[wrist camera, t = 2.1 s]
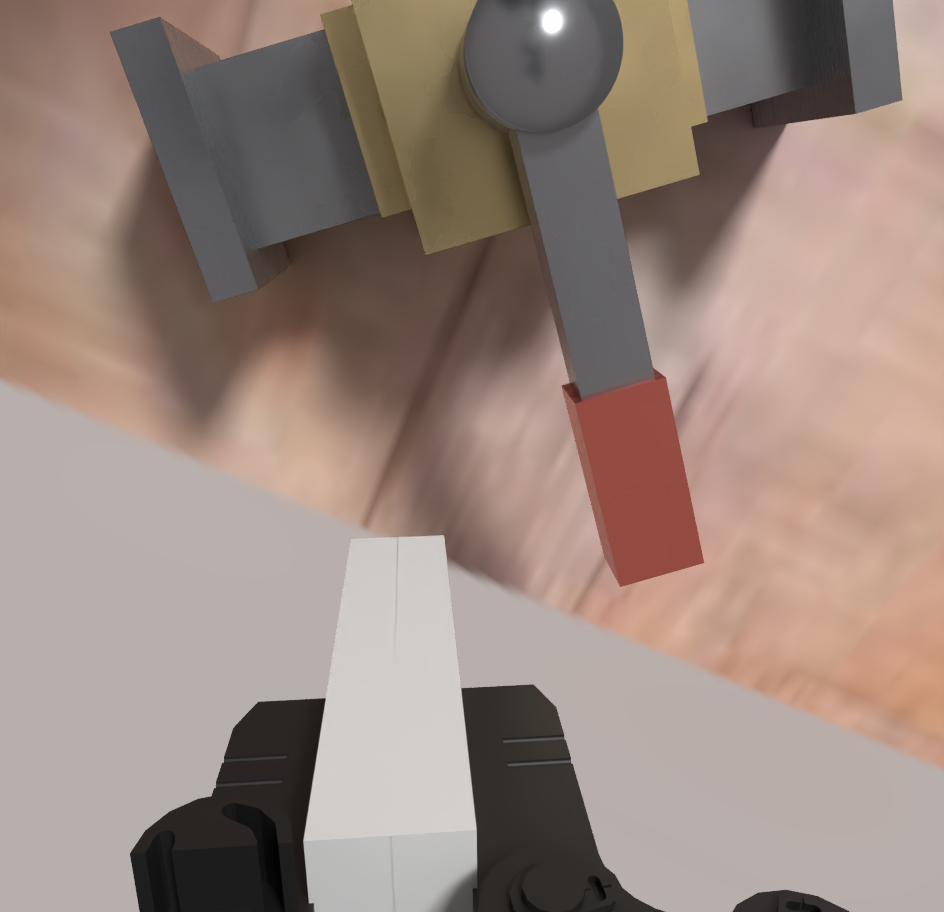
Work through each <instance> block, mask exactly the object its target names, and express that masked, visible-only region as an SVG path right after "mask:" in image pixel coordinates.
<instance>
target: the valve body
mask: <svg viewBox="0 0 944 912" xmlns="http://www.w3.org/2000/svg"><path fill="white" fill-rule="evenodd" d="M351 1H352V6H348V7H345V8H342V9H338V10H335V11H332V12H328V13H325V14H322V15H321V19H322V22H323V25H324V28H325V29H324V30H321V31H317V32H314V33H311V34H307V35H304V36H301V37H297V38H294V39H291V40H287V41H284V42H281V43H277V44H274V45H271V46H267V47H264V48H261V49H257V50H254V51H251V52H247V53H244V54H241V55H237V56H234V57H231V58H227V59H224V60H220V57H219V55H217V54H215V53H214V52H212V51H211V50H209V49H208V48H206V47H205V46H203V45H202V44H200V43H199V42H197V41H196V40H194V39H193V38H191V37H190V36H188V35H187V34H185V33H183V32H182V31H180V30H179V29H177V28H176V27H174V26H173V25H171V24H170V23H168V22H167V21H165V20H164V19H162V18H161V17H158V18H155V19H152V20H148V21H145V22H142V23H138V24H135V25H132V26H128V27H125V28H122V29H118V30H115V31H112V32H110V34H111V37H112V39H113V42H114V45H115V47H116V50H117V52H118V55H119V58H120V60H121V63H122V66H123V68H124V71H125V73H126V76H127V79H128V81H129V84H130V87H131V89H132V92H133V94H134V97H135V100H136V102H137V105H138V108H139V110H140V113H141V115H142V118H143V121H144V123H145V126H146V129H147V131H148V134H149V136H150V139H151V142H152V144H153V147H154V149H155V152H156V155H157V157H158V160H159V163H160V165H161V168H162V170H163V173H164V176H165V178H166V181H167V184H168V186H169V189H170V191H171V194H172V197H173V199H174V202H175V205H176V207H177V210H178V212H179V215H180V218H181V220H182V223H183V226H184V228H185V231H186V233H187V236H188V239H189V241H190V244H191V247H192V249H193V252H194V254H195V257H196V260H197V262H198V265H199V268H200V270H201V273H202V275H203V278H204V281H205V283H206V286H207V289H208V291H209V294H210V296H211V299H212V302H213V303H215V302H218V301H222V300H225V299H228V298H232V297H235V296H239V295H242V294H245V293H249V292H252V291H255V290H259V289H260V288H261V287H263V286H264V285H265V284H267V283H268V282H269V281H271V280H272V279H273V278H275V277H276V276H277V275H279V274H280V273H281V272H283V271H284V270H285V269H287V268H288V267H289V266H290V265H291V263H290V260H289V257H288V254H287V251H286V248H285V245H284V242H283V241H286V240H289V239H293V238H296V237H300V236H303V235H306V234H310V233H313V232H317V231H320V230H323V229H327V228H330V227H333V226H337V225H340V224H344V223H347V222H350V221H354V220H357V219H361V218H364V217H367V216H371V215H374V214H377V213H381V216H382V218H384V217H387V216H390V215H394V214H397V213H401V212H404V211H407V210H411V209H412V211H413V214H414V218H415V221H416V225H417V228H418V231H419V235H420V238H421V242H422V245H423V249H424V252H425V255H429V254H432V253H435V252H439V251H442V250H446V249H449V248H452V247H456V246H459V245H463V244H466V243H469V242H473V241H476V240H480V239H483V238H486V237H490V236H493V235H497V234H500V233H503V232H507V231H510V230H514V229H517V228H520V227H524V226H527V225H531V223H530V219H529V215H528V211H527V207H526V203H525V199H524V195H523V191H522V186H521V182H520V178H519V174H518V170H517V166H516V162H515V158H514V154H513V150H512V146H511V142H510V138H509V134H506V133H503V132H501V131H499V130H497V129H495V128H494V127H492V126H491V125H489V124H488V123H487V122H485V121H484V120H483V119H482V118H481V117H480V116H479V115H478V113H477V112H476V111H475V110H474V108H473V107H472V105H471V104H470V102H469V100H468V98H467V96H466V94H465V92H464V89H463V85H462V82H461V77H460V71H459V52H460V46H461V41H462V38H463V34H464V31H465V29H466V26H467V24H468V21H469V19H470V16H471V14H472V11H473V9H474V7H475V4H476V2H477V0H351ZM613 1H614V2H615V5H616V7H617V10H618V12H619V16H620V20H621V23H622V30H623V56H622V62H621V66H620V70H619V73H618V76H617V79H616V81H615V83H614V85H613V87H612V90H611V91H610V93H609V94H608V96H607V97H606V99H605V100H604V101H603V103H602V104H601V105H600V106H599V107H598V110H599V115H600V120H601V125H602V129H603V134H604V139H605V143H606V148H607V153H608V158H609V162H610V167H611V172H612V177H613V181H614V186H615V191H616V196H617V199H619V198H622V197H626V196H629V195H633V194H636V193H639V192H643V191H646V190H650V189H653V188H656V187H660V186H663V185H667V184H670V183H673V182H677V181H680V180H684V179H687V178H690V177H694V176H697V175H700V174H699V168H698V162H697V157H696V151H695V145H694V140H693V134H692V129H691V127H692V126H695V125H699V124H702V123H705V122H708V119H707V116H709V115H713V114H716V113H719V112H723V111H726V110H730V109H733V108H736V107H740V106H743V105H747V104H750V103H751V108H752V114H753V121H754V127H755V128H760V127H767V126H774V125H781V124H788V123H795V122H802V121H809V120H816V119H823V118H830V117H837V116H844V115H851V114H857V113H860V112H863V111H867V110H870V109H874V108H877V107H880V106H884V105H887V104H891V103H894V102H897V101H901V100H902V92H901V82H900V71H899V61H898V51H897V41H896V31H895V21H894V11H893V0H613Z"/></svg>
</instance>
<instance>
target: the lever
mask: <svg viewBox="0 0 944 912" xmlns="http://www.w3.org/2000/svg"><path fill="white" fill-rule="evenodd" d="M622 56H623V30H622V23H621V20H620V16H619V12H618V10H617V7H616V5H615V2H614V1H613V0H477V2H476V4H475V7H474V9H473V11H472V14H471V16H470V19H469V21H468V24H467V26H466V29H465V31H464V34H463V38H462V41H461V46H460V52H459V71H460V77H461V82H462V85H463V89H464V92H465V94H466V96H467V98H468V100H469V102H470V104H471V105H472V107H473V108H474V110H475V111H476V112H477V113H478V115H479V116H480V117H481V118H482V119H483V120H484V121H485V122H487V123H488V124H489V125H491V126H492V127H494V128H495V129H497V130H499V131H501V132H503V133H506V134H509V138H510V142H511V146H512V150H513V154H514V158H515V162H516V166H517V170H518V174H519V178H520V182H521V186H522V191H523V195H524V199H525V203H526V207H527V211H528V215H529V219H530V223H531V227H532V231H533V235H534V239H535V243H536V247H537V251H538V255H539V259H540V263H541V268H542V272H543V276H544V280H545V284H546V288H547V292H548V296H549V300H550V304H551V308H552V312H553V316H554V320H555V324H556V328H557V332H558V336H559V341H560V345H561V349H562V353H563V357H564V361H565V365H566V369H567V373H568V377H569V381H570V383H569V384H566V385H562V390H563V394H564V398H565V402H566V406H567V410H568V414H569V418H570V422H571V425H572V429H573V433H574V437H575V441H576V445H577V449H578V453H579V457H580V461H581V465H582V469H583V473H584V477H585V481H586V485H587V489H588V493H589V497H590V501H591V505H592V509H593V513H594V517H595V521H596V525H597V529H598V533H599V537H600V541H601V545H602V549H603V553H604V557H605V559H606V561H607V563H608V564H609V566H610V568H611V570H612V572H613V574H614V576H615V578H616V580H617V582H618V584H619V585H620V587H622V586H625V585H629V584H632V583H636V582H639V581H643V580H646V579H650V578H653V577H657V576H660V575H664V574H667V573H671V572H674V571H678V570H681V569H685V568H688V567H692V566H695V565H698V564H702V563H704V560H703V555H702V551H701V546H700V541H699V536H698V531H697V526H696V522H695V517H694V512H693V507H692V502H691V497H690V493H689V488H688V483H687V478H686V473H685V468H684V464H683V459H682V454H681V449H680V444H679V439H678V435H677V430H676V425H675V420H674V415H673V410H672V406H671V401H670V396H669V391H668V386H667V381H666V377H664V376H663V375H662V374H661V373H659V372H658V371H657V370H655V369H654V368H653V366H652V361H651V356H650V352H649V347H648V342H647V338H646V333H645V328H644V323H643V319H642V314H641V309H640V304H639V300H638V295H637V290H636V285H635V281H634V276H633V271H632V267H631V262H630V257H629V252H628V248H627V243H626V238H625V233H624V229H623V224H622V219H621V214H620V210H619V205H618V200H617V196H616V191H615V186H614V181H613V177H612V172H611V167H610V162H609V158H608V153H607V148H606V143H605V139H604V134H603V129H602V125H601V120H600V115H599V110H598V107H599V106H600V105H601V104H602V103H603V101H604V100H605V99H606V97H607V96H608V94H609V93H610V91H611V90H612V87H613V85H614V83H615V81H616V79H617V76H618V73H619V70H620V66H621V62H622Z"/></svg>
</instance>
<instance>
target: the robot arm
mask: <svg viewBox="0 0 944 912" xmlns="http://www.w3.org/2000/svg"><path fill="white" fill-rule="evenodd" d="M130 856H131V862H132V868H133V874H134V880H135V886H136V892H137V898H138V904H139V910H140V912H664V911H661V910H658V909H655V908H653V907H651V906H649V905H647V904H645V903H643V902H641V901H640V900H638V899H636V898H634V897H633V896H632V895H631V894H629V893H628V892H627V891H625V890H624V889H623V888H622V887H621V885H620V883H619V881H618V879H617V878H616V876H615V874H613V873H612V872H611V871H610V870H608V869H607V868H606V867H605V866H604V864H603V862H602V860H601V858H600V856H599V854H598V850H597V847H596V843H595V840H594V836H593V833H592V830H591V826H590V822H589V819H588V815H587V812H586V809H585V806H584V802H583V798H582V795H581V791H580V788H579V785H578V781H577V778H576V774H575V771H574V767H573V764H571V757H570V753H569V750H568V747H567V743H566V740H564V733H563V729H562V726H561V722H560V719H559V716H558V712H557V709H556V707H555V706H554V705H553V704H552V703H551V702H550V701H549V700H548V699H547V698H546V697H545V696H544V695H543V694H542V693H541V692H540V691H539V690H538V689H537V688H536V687H535V686H534V685H516V686H497V687H478V688H461V683H460V675H459V665H458V656H457V648H456V638H455V629H454V620H453V612H452V603H451V593H450V584H449V576H448V566H447V557H446V548H445V538H444V535H439V536H414V537H389V538H365V539H351V542H350V549H349V555H348V562H347V568H346V574H345V581H344V587H343V593H342V600H341V606H340V613H339V618H338V625H337V631H336V638H335V644H334V650H333V657H332V664H331V669H330V676H329V683H328V688H327V695H326V698H324V699H305V700H287V701H267V702H258V703H257V704H256V705H255V706H254V707H253V708H252V709H251V710H250V711H249V712H248V713H247V714H246V715H245V716H244V717H243V718H242V719H241V721H240V722H239V723H238V724H237V725H236V726H235V727H234V728H233V731H232V734H231V738H230V741H229V744H228V747H227V750H226V753H225V756H224V763H222V765H221V768H220V772H219V775H218V778H217V781H216V788H214V790H213V793H212V796H211V797H206V798H201V799H197V800H195V801H192V802H190V803H188V804H186V805H184V806H181V807H179V808H177V809H174V810H172V811H170V812H169V813H167V814H166V815H165V816H163V817H162V818H161V819H160V820H158V821H157V822H156V823H154V824H153V825H152V826H151V827H150V828H148V829H147V830H146V831H145V832H144V833H143V835H142V837H141V838H140V839H139V841H138V843H137V844H136V845H135V847H134V848H133V850H132V851H131V853H130ZM733 912H849V911H847V910H845V909H843V908H841V907H839V906H837V905H835V904H832V903H831V902H829V901H826V900H824V899H822V898H820V897H818V896H814V895H809V894H804V893H799V892H794V891H789V890H780V891H771V892H761V893H757V894H755V895H753V896H752V897H750V898H748V899H746V900H744V901H743V902H741V903H739V904H737V905H736V907H735V909H734V910H733Z"/></svg>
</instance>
